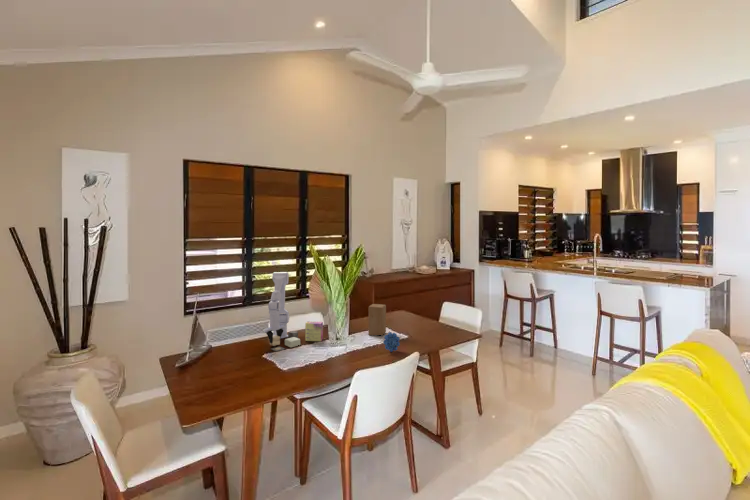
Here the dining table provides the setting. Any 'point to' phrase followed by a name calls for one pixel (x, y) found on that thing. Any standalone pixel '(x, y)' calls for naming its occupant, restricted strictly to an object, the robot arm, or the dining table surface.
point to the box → (313, 331)
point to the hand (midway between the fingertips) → (274, 341)
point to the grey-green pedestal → (292, 342)
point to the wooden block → (377, 319)
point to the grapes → (391, 341)
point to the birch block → (275, 340)
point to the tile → (277, 348)
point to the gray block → (292, 334)
